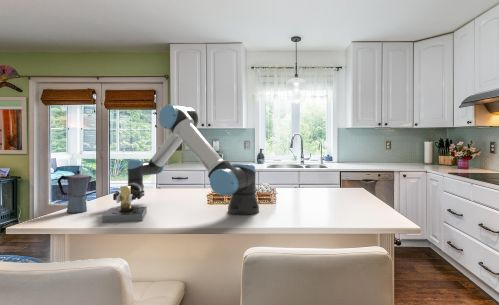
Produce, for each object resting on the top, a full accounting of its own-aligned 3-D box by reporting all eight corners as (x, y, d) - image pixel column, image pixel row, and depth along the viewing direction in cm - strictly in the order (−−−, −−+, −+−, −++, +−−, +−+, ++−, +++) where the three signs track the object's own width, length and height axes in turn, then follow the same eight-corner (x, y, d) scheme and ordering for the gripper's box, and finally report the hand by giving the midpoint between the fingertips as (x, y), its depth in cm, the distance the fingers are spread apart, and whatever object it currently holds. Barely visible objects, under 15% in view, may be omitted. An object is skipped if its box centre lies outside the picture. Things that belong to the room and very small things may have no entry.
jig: (146, 212, 153) (146, 206, 153) (142, 220, 137) (142, 214, 137) (111, 214, 150) (111, 207, 150) (102, 222, 134) (102, 215, 134)
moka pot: (96, 210, 158) (95, 170, 157) (62, 216, 146) (60, 172, 146) (89, 207, 164) (88, 169, 163) (55, 212, 153) (54, 171, 152)
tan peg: (132, 211, 146) (131, 185, 146) (130, 213, 142) (129, 187, 141) (121, 212, 145) (121, 186, 145) (119, 214, 141) (119, 187, 141)
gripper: (150, 197, 163) (144, 207, 140) (114, 199, 159) (102, 209, 137) (150, 183, 162) (144, 190, 140) (114, 184, 159) (101, 191, 136)
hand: (123, 199), depth 138 cm, fingers closed on tan peg, 4 cm apart
